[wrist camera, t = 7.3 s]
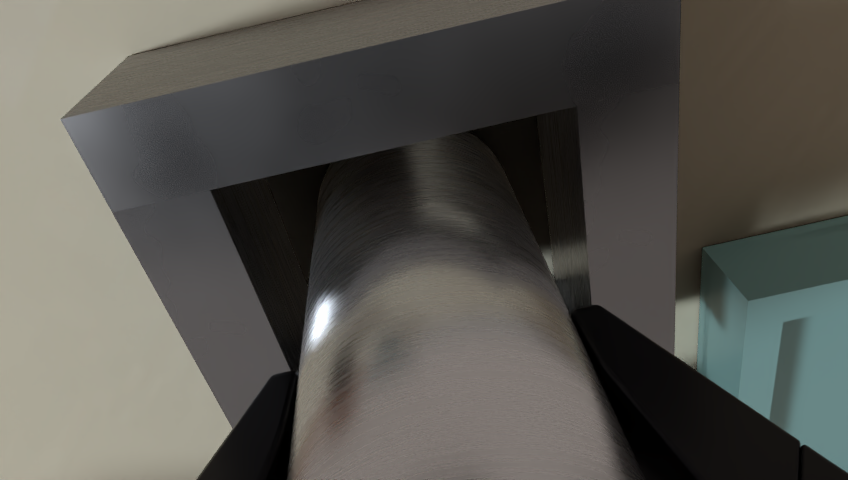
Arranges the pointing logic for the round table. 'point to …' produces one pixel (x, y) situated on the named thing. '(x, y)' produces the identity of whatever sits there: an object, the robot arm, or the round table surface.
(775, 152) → the round table surface
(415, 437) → the shiny silver cylinder
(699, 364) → the tray
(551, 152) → the socket
